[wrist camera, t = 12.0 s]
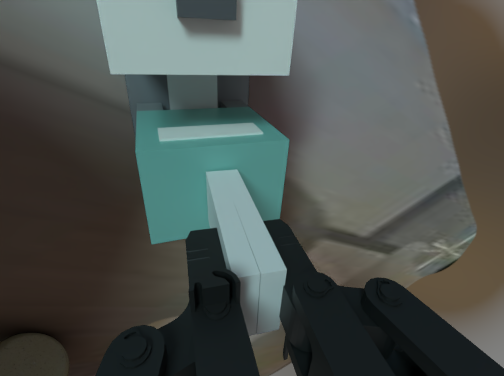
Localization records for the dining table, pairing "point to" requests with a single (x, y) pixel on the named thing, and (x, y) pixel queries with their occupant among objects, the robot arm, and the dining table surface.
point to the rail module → (204, 163)
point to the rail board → (195, 48)
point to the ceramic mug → (33, 356)
